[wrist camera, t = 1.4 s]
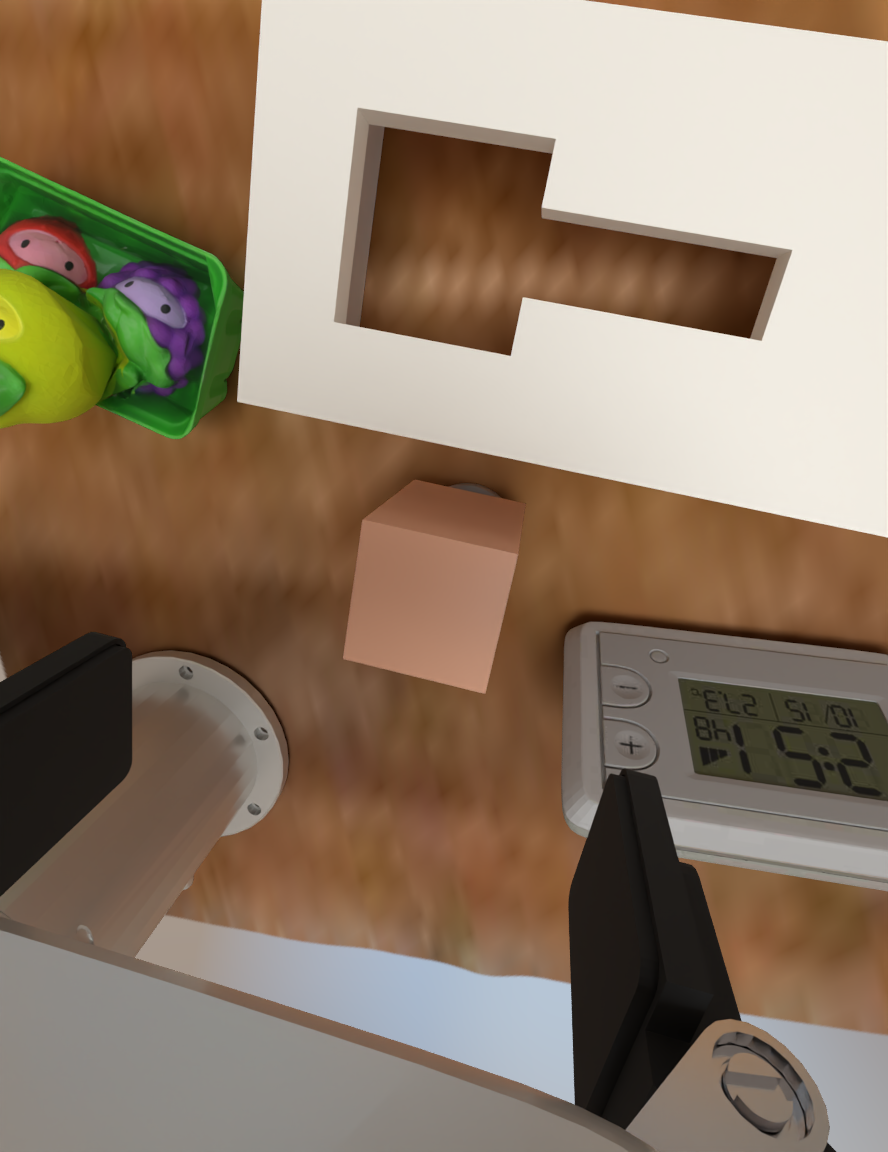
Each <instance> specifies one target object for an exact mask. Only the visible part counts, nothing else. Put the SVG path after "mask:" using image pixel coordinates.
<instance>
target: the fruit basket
mask: <svg viewBox="0 0 888 1152" xmlns="http://www.w3.org/2000/svg"><path fill="white" fill-rule="evenodd" d="M243 299H244V292H243V291H242V289H241V288H240V287H239V286H238V285H237V284H236V283H235V282H234V281H233V280H232V279H231V278H230V275H229V274H228V272H227V270H226V268H225V267H224V266H223V264H222V263H221V262H220V260H219V259H218V258H217V257H216V256H214V255H213V254H211V253H209V252H206V251H204V250H202V249H199V248H197V247H195V246H193V245H190V244H188V243H186V242H184V241H181V240H179V239H177V238H175V237H172V236H170V235H168V234H166V233H164V232H161V231H159V230H157V229H154V228H152V227H150V226H148V225H146V224H143V223H141V222H139V221H137V220H135V219H133V218H131V217H128V216H126V215H124V214H122V213H120V212H118V211H116V210H113V209H111V208H109V207H107V206H105V205H103V204H101V203H98V202H96V201H94V200H92V199H90V198H88V197H86V196H84V195H81V194H79V193H78V192H76V191H73V190H70V189H68V188H66V187H64V186H62V185H59V184H57V183H55V182H53V181H51V180H48V179H46V178H44V177H42V176H40V175H38V174H36V173H34V172H31V171H29V170H27V169H25V168H23V167H21V166H19V165H16V164H14V163H12V162H10V161H8V160H6V159H4V158H2V157H0V428H6V427H10V426H13V425H17V424H22V423H56V422H62V421H66V420H70V419H72V418H75V417H77V416H79V415H81V414H83V413H85V412H86V411H88V410H89V409H91V408H92V407H93V406H94V405H97V406H99V407H102V408H104V409H106V410H108V411H110V412H112V413H115V414H117V415H119V416H121V417H124V418H126V419H128V420H130V421H133V422H135V423H137V424H139V425H141V426H143V427H145V428H148V429H150V430H152V431H154V432H156V433H159V434H161V435H163V436H165V437H168V438H171V439H181V438H183V437H185V436H186V435H187V434H189V433H190V432H191V431H192V429H193V428H194V427H195V426H196V425H197V424H198V422H199V420H200V419H201V418H202V417H203V416H204V415H206V414H207V413H208V412H209V411H211V410H212V409H213V408H214V407H216V406H217V405H218V404H219V403H220V402H222V401H223V400H224V399H225V397H226V394H227V381H226V379H227V378H228V377H229V375H230V373H231V372H232V371H233V368H234V364H235V360H236V357H237V353H238V349H239V346H240V342H241V331H242V315H243Z"/></svg>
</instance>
